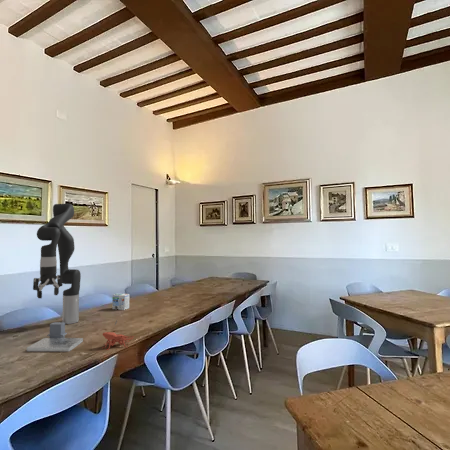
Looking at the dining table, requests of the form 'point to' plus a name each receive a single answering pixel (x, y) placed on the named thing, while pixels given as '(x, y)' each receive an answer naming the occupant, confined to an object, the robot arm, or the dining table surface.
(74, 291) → the robot arm
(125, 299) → the light bulb box
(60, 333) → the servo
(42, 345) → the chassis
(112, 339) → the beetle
